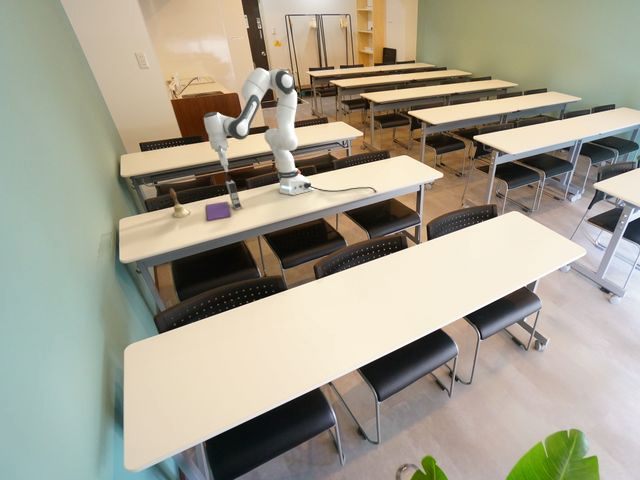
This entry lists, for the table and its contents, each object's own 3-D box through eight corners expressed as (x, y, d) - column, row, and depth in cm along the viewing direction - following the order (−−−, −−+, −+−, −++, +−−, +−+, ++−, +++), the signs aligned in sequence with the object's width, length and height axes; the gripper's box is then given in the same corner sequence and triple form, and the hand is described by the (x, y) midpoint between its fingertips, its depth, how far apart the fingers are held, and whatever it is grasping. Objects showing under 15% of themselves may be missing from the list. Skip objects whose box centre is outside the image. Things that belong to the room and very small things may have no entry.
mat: (227, 202, 216) (227, 201, 216) (230, 216, 200) (230, 215, 200) (206, 206, 212) (206, 204, 211) (208, 220, 196) (207, 219, 195)
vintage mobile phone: (235, 210, 208) (224, 170, 193) (233, 207, 211) (221, 167, 196) (242, 208, 210) (230, 168, 195) (239, 205, 213) (228, 166, 198)
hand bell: (169, 216, 200) (159, 190, 191) (181, 210, 206) (171, 185, 197) (180, 218, 198) (170, 192, 189) (192, 212, 204) (182, 187, 195)
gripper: (226, 148, 182) (233, 173, 189) (224, 139, 197) (230, 163, 204) (214, 149, 179) (221, 175, 187) (212, 140, 194) (219, 164, 202)
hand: (226, 168), depth 196 cm, fingers open, 8 cm apart
